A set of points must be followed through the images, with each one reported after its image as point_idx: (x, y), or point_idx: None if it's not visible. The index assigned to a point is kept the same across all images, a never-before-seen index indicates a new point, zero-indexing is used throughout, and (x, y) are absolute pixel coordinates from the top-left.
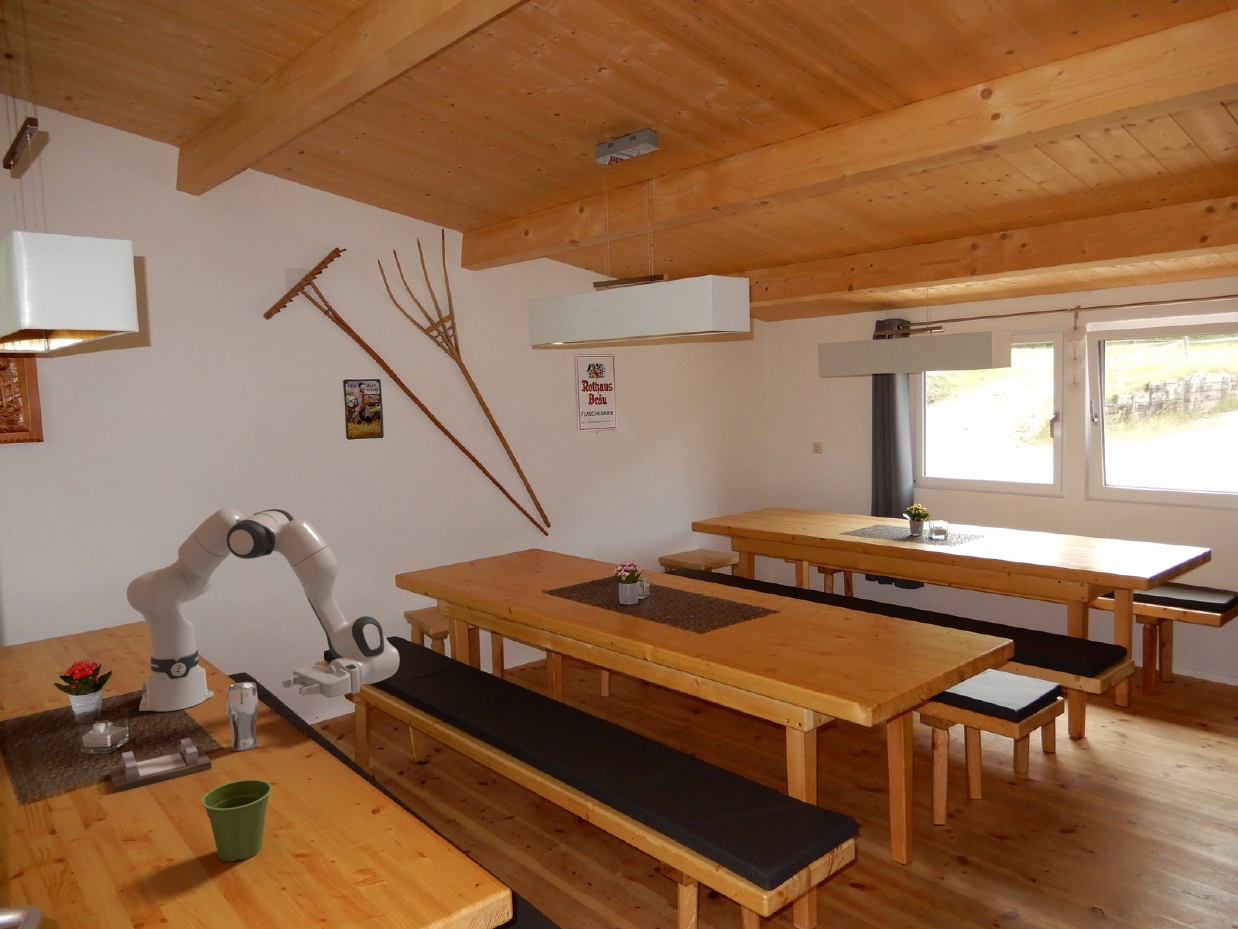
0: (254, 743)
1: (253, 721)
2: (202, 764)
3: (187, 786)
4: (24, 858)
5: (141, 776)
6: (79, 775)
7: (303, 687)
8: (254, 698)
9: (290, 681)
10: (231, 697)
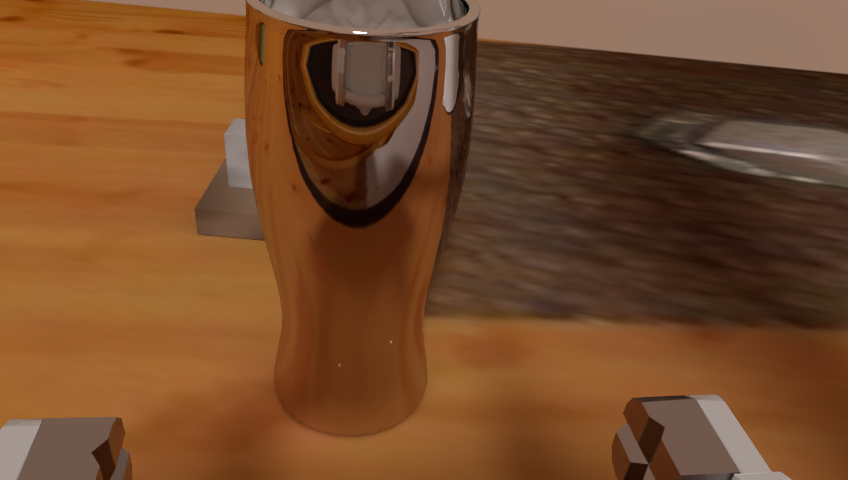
0: (282, 387)
1: (277, 269)
2: (206, 191)
3: (116, 167)
4: (95, 7)
5: None
6: (487, 86)
7: (58, 456)
8: (257, 112)
9: (667, 472)
10: (312, 18)
